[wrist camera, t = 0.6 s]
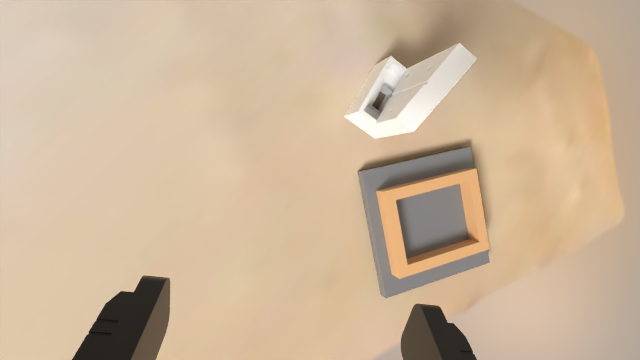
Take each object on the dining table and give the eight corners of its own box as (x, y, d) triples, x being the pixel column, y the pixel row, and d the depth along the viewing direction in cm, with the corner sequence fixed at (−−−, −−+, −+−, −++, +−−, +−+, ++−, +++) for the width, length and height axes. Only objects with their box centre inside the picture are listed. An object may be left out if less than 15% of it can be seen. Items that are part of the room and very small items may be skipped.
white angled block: (440, 43, 34) (477, 58, 26) (370, 128, 38) (385, 164, 30) (410, 17, 33) (440, 26, 25) (341, 107, 37) (349, 139, 29)
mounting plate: (357, 171, 35) (369, 171, 32) (464, 147, 38) (481, 145, 36) (381, 294, 36) (394, 303, 33) (482, 260, 39) (500, 266, 37)
